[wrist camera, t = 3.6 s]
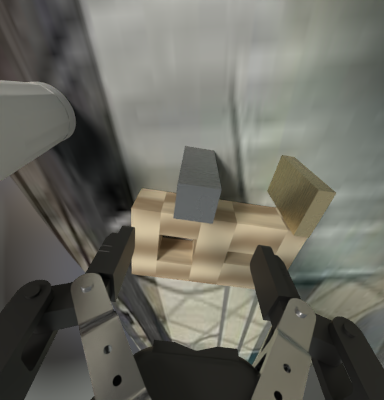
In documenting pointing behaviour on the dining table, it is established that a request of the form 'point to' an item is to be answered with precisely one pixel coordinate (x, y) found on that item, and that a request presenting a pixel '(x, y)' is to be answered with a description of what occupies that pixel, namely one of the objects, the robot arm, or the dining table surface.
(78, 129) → the dining table surface
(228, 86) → the dining table surface
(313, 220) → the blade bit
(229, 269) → the socket block
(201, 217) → the square bit
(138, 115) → the dining table surface
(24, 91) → the cup
